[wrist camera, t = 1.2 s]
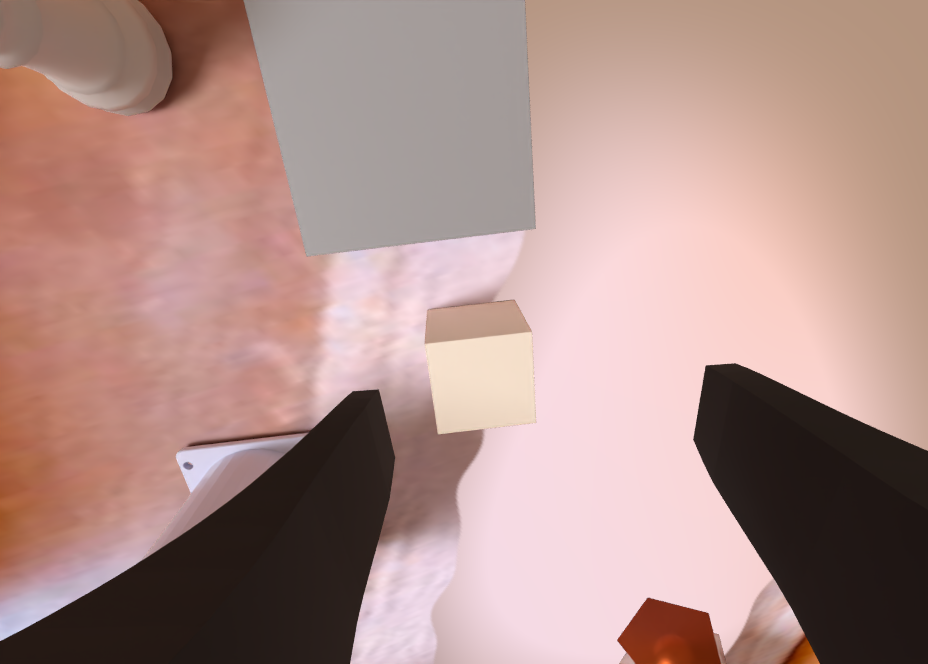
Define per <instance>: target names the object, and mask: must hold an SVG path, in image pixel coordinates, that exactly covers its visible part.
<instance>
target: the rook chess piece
mask: <svg viewBox="0 0 928 664" xmlns="http://www.w3.org/2000/svg"><path fill="white" fill-rule="evenodd" d="M18 66H24V67H27V68H29V69H32V70H34V71H37V72H40V73H42V74H44V75H45V76H46V77H47V79H49V80H51V81H52V82H53V83H54V84H55V85H56V86H57V87H58V88H59V89H60V90H62V91H63V92H65V93H67V94H68V95H70V96H72V97H73V98H75V99H77V100H78V101H80V102H82V103H83V104H85V105H87V106H89V107H92V108H97V109H102V110H104V111H107V112H112V113H116V114H121V115H126V116H131V115H136V114H140V113H145V112H149V111H150V110H151V109H153V108H154V107H155V106H156V105H157V104H158V103H160V102H161V101H162V100H163V99H164V98H165V96H166V93H167V90H168V88H169V85H170V83H171V80H172V55H171V51H170V48H169V46H168V43H167V40H166V38H165V35H164V33H163V30H162V28H161V26H160V25H159V24H158V22H157V21H156V20H155V19H154V17H153V16H152V15H151V13H150V12H149V11H148V10H147V8H146V7H145V6H144V5H143V4H142V3H141V2H139V1H138V0H0V67H1V68H5V69H9V68H14V67H18Z"/></svg>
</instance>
